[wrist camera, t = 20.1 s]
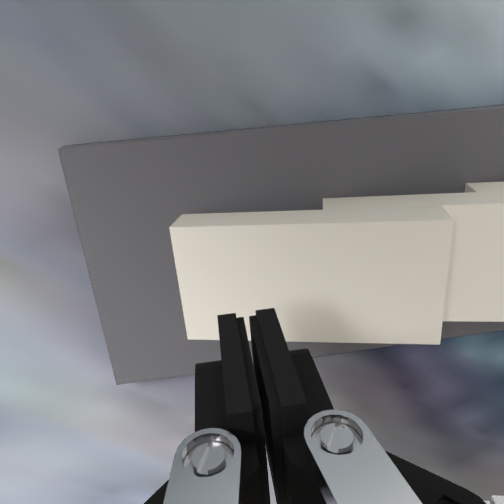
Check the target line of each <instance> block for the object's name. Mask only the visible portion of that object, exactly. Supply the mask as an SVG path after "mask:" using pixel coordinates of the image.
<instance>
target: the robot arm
mask: <svg viewBox="0 0 504 504" xmlns="http://www.w3.org/2000/svg"><path fill="white" fill-rule="evenodd" d="M217 318H218V329H219V340H220V350H221V360H219V361H211V362H204V363H197V364H195V432H194V433H192V434H191V435H189V436H188V437H187V438H185V439H184V440H183V441H182V442H181V444H180V445H179V446H178V448H177V450H176V453H175V455H174V460H173V464H172V468H171V472H170V477H169V480H168V481H167V482H166V483H165V484H164V485H163V486H162V487H161V488H159V489H158V490H157V491H156V492H155V493H154V494H153V495H152V496H151V497H150V498H149V499H148V500H147V501H146V502H145V503H144V504H270V493H269V482H268V470H267V458H266V450H267V455H268V460H269V465H270V470H271V476H272V481H273V486H274V491H275V496H276V502H277V504H504V496H496V495H492V496H491V501H483V500H482V499H481V498H480V497H479V496H477V495H475V494H474V493H472V492H470V491H469V490H467V489H465V488H463V487H461V486H459V485H456V484H454V483H452V482H450V481H448V480H446V479H444V478H442V477H439V476H437V475H435V474H433V473H431V472H429V471H427V470H425V469H423V468H420V467H418V466H416V465H414V464H412V463H410V462H408V461H406V460H403V459H401V458H399V457H397V456H395V455H393V454H391V453H389V452H387V451H384V449H383V448H382V446H381V445H380V443H379V442H378V441H377V439H376V438H375V436H374V435H373V434H372V432H371V431H370V429H369V428H368V427H367V425H366V424H365V423H364V422H363V421H362V420H361V419H360V418H359V417H357V416H355V415H354V414H352V413H349V412H346V411H343V410H334V408H333V406H332V404H331V401H330V399H329V397H328V394H327V392H326V389H325V387H324V385H323V382H322V380H321V378H320V375H319V373H318V370H317V368H316V366H315V363H314V361H313V358H312V356H311V354H310V352H309V350H308V349H307V348H305V349H298V350H290V351H289V349H288V346H287V343H286V340H285V338H284V335H283V332H282V329H281V326H280V323H279V320H278V317H277V314H276V312H275V309H274V308H269V309H261V310H256V315H253V316H249V323H250V333H251V344H252V355H253V361H252V356H251V351H250V346H249V342H248V337H247V332H246V327H245V322H244V317H238V318H236V313H231V314H223V315H217ZM265 444H266V447H265Z"/></svg>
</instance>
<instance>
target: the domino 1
mask: <svg viewBox="0 0 504 504" xmlns="http://www.w3.org/2000/svg"><path fill="white" fill-rule="evenodd" d="M453 222H454V220H453V219H452V217H451V216H450V215H449V214H448V213H447V212H446V211H445V209H444V208H443V207H442V206H422V207H391V208H359V209H328V210H296V211H265V212H233V213H202V214H182V215H181V216H180V217H179V218H178V219H177V220H176V221H175V222H174V223H173V224H172V225H171V226H170V227H169V229H170V235H171V242H172V248H173V254H174V260H175V266H176V272H177V278H178V284H179V290H180V296H181V302H182V308H183V314H184V320H185V326H186V332H187V338H188V339H189V340H219V329H218V318H217V315H223V314H231V313H236V318H238V317H244V322H245V327H246V332H247V337H248V341H251V333H250V323H249V316H253V315H256V310H261V309H269V308H274V309H275V312H276V314H277V317H278V320H279V323H280V326H281V329H282V332H283V335H284V338H285V340H286V342H335V343H384V344H432V345H440V341H441V332H442V322H443V313H444V304H445V295H446V286H447V277H448V267H449V258H450V249H451V240H452V231H453Z"/></svg>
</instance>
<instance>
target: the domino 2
mask: <svg viewBox="0 0 504 504" xmlns="http://www.w3.org/2000/svg"><path fill="white" fill-rule="evenodd" d="M422 206H442V207H443V208H444V209H445V211H446V212H447V213H448V214H449V215H450V216H451V217H452V219H453V220H454V222H453V231H452V240H451V249H450V258H449V267H448V277H447V286H446V295H445V304H444V313H443V321H469V322H504V191H491V192H466V193H441V194H416V195H392V196H367V197H342V198H323V210H328V209H359V208H391V207H422Z"/></svg>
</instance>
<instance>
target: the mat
mask: <svg viewBox="0 0 504 504" xmlns="http://www.w3.org/2000/svg"><path fill="white" fill-rule="evenodd" d="M58 151H59V155H60V159H61V163H62V167H63V171H64V175H65V179H66V183H67V187H68V191H69V195H70V199H71V203H72V207H73V211H74V215H75V219H76V223H77V227H78V231H79V235H80V240H81V244H82V248H83V252H84V256H85V260H86V264H87V268H88V272H89V276H90V280H91V284H92V288H93V292H94V296H95V300H96V304H97V308H98V312H99V316H100V320H101V324H102V328H103V332H104V336H105V340H106V344H107V348H108V352H109V356H110V360H111V364H112V368H113V372H114V376H115V380H116V384H117V385H119V384H126V383H133V382H141V381H148V380H155V379H162V378H169V377H176V376H183V375H190V374H195V364H197V363H204V362H211V361H219V360H221V350H220V340H189V339H188V338H187V332H186V326H185V320H184V314H183V308H182V302H181V296H180V290H179V284H178V278H177V272H176V266H175V260H174V254H173V248H172V242H171V235H170V229H169V227H170V226H171V225H172V224H173V223H174V222H175V221H176V220H177V219H178V218H179V217H180V216H181V215H182V214H202V213H233V212H265V211H296V210H323V198H342V197H367V196H392V195H416V194H441V193H465V184H466V183H480V182H504V105H496V106H485V107H475V108H464V109H453V110H442V111H432V112H421V113H410V114H399V115H389V116H378V117H367V118H356V119H346V120H335V121H324V122H313V123H303V124H292V125H281V126H271V127H260V128H249V129H238V130H228V131H217V132H206V133H195V134H185V135H174V136H163V137H152V138H142V139H131V140H120V141H109V142H99V143H88V144H77V145H66V146H64V147H62V148H60V149H58ZM502 330H504V322H469V321H443V322H442V332H441V339H445V338H452V337H459V336H466V335H473V334H481V333H488V332H495V331H502ZM248 342H249V346H250V351H251V356H252V361H253V355H252V344H251V341H248ZM286 343H287V346H288V349H289V351H290V350H298V349H305V348H307V349H308V350H309V352H310V354H311V356H312V357H318V356H325V355H332V354H339V353H346V352H353V351H360V350H367V349H374V348H381V347H388V346H396V345H403V344H384V343H335V342H286Z"/></svg>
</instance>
